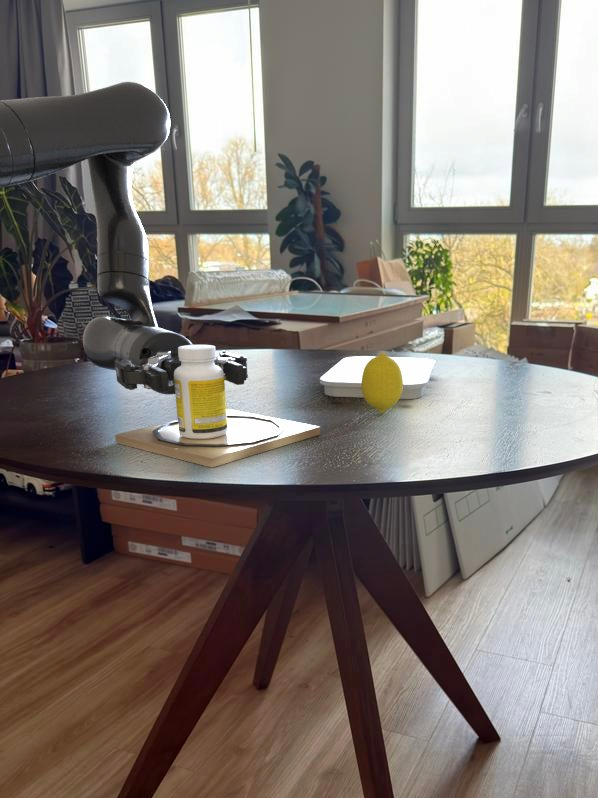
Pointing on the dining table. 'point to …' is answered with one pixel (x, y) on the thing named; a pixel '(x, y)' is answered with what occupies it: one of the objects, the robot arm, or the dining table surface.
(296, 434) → the mirror board
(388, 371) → the lemon
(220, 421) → the supplement bottle
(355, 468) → the dining table surface
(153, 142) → the robot arm
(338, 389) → the white rectangular tray
